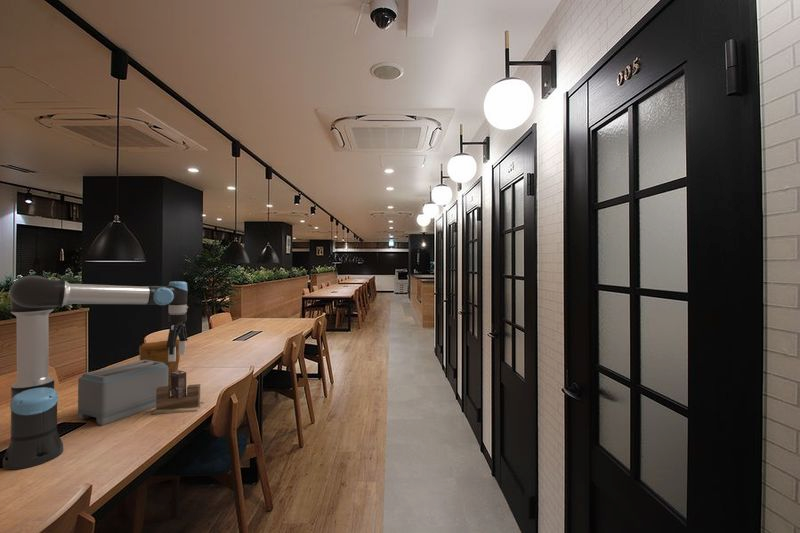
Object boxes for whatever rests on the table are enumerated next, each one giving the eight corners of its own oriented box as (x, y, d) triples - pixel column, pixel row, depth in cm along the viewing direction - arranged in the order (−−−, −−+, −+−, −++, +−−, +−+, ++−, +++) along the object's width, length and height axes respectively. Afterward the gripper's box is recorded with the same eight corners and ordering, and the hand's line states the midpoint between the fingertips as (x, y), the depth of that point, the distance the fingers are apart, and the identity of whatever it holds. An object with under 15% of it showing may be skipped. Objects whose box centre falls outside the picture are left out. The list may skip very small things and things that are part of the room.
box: (170, 397, 173) (170, 372, 173) (179, 394, 177) (180, 369, 177) (177, 399, 170) (177, 374, 170) (187, 396, 174) (187, 371, 174)
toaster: (176, 400, 185) (176, 360, 185) (101, 426, 154) (102, 379, 154) (152, 395, 192) (152, 356, 192) (76, 419, 161) (76, 373, 161)
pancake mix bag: (181, 390, 200) (181, 339, 200) (138, 396, 190) (139, 343, 190) (180, 386, 205) (181, 337, 205) (139, 392, 195) (140, 341, 195)
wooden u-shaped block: (197, 411, 171) (197, 388, 171) (151, 414, 166) (152, 391, 167) (203, 403, 181) (203, 381, 181) (160, 406, 176) (160, 384, 176)
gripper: (177, 316, 162) (176, 364, 162) (194, 310, 186) (193, 351, 186) (158, 317, 160) (157, 364, 160) (178, 310, 184) (177, 352, 184)
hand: (177, 357), depth 173 cm, fingers open, 13 cm apart
